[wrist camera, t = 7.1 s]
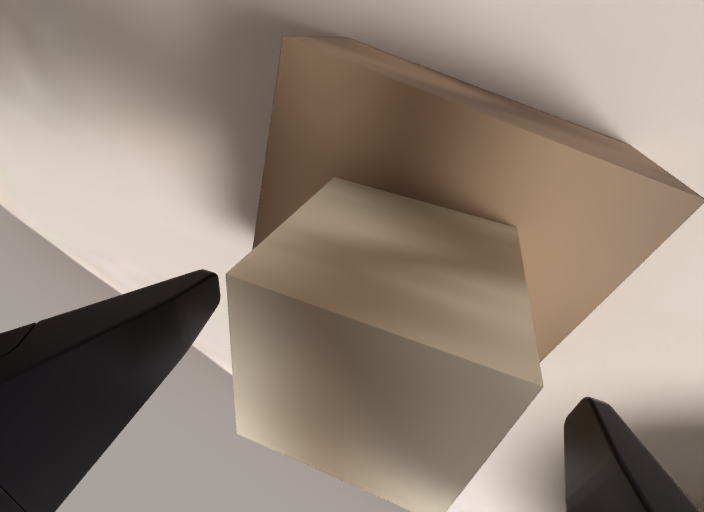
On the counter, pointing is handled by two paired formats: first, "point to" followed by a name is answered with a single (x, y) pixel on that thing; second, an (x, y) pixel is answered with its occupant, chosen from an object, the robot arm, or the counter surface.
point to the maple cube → (383, 342)
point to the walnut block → (470, 169)
